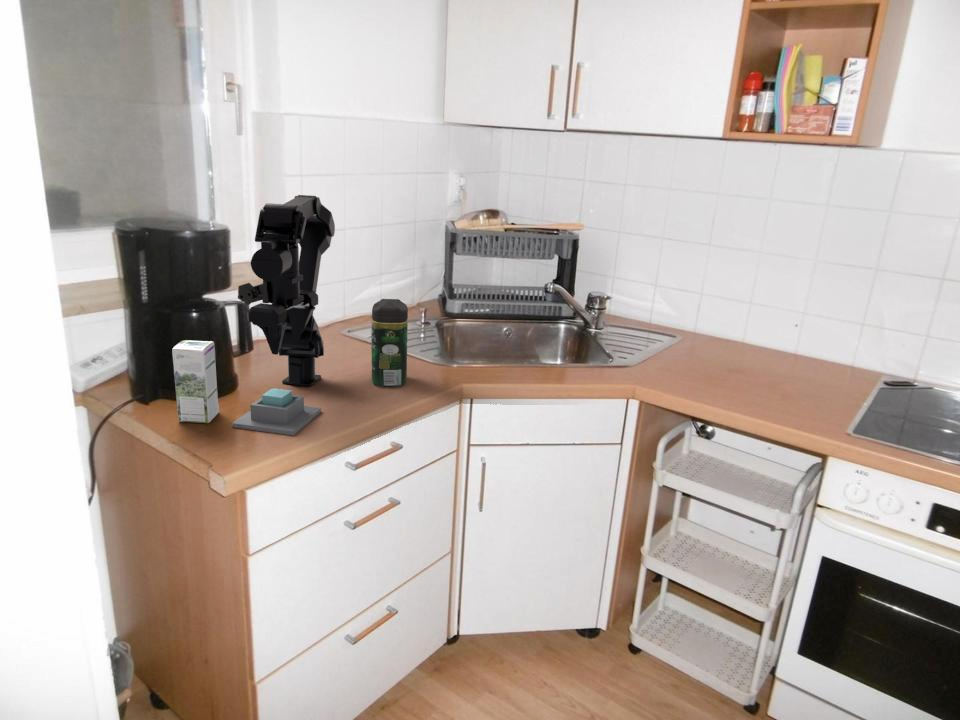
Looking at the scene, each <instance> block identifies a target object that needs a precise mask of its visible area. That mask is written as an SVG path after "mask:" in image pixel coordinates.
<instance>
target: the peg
mask: <svg viewBox="0 0 960 720" xmlns="http://www.w3.org/2000/svg"><path fill="white" fill-rule="evenodd" d="M292 395H293V390H291V389H290V390H289V389H281V388H275V387H274V388H271V389H269V390H267V391H266V392H265V393H263V394H262V395H261V397H262V405H269V406H276V407H284V408H285V407H286V406H288V405H289V404H290V403H291V402H292Z"/></svg>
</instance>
